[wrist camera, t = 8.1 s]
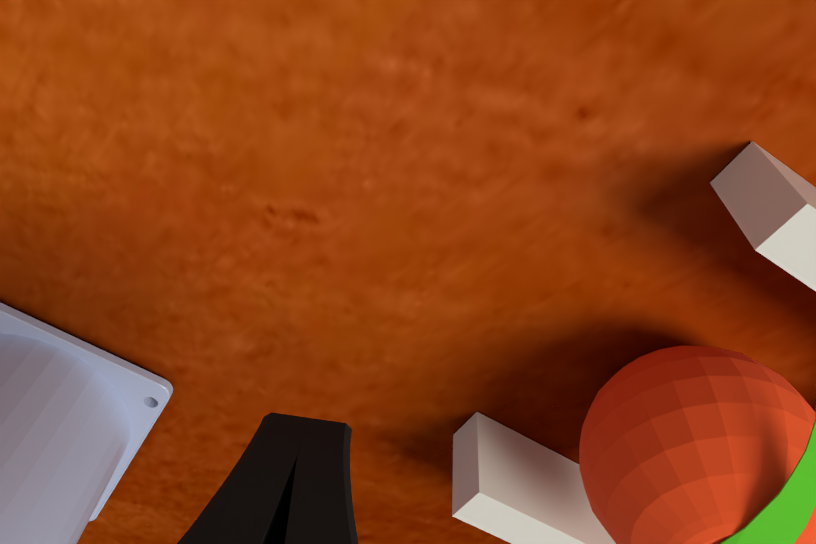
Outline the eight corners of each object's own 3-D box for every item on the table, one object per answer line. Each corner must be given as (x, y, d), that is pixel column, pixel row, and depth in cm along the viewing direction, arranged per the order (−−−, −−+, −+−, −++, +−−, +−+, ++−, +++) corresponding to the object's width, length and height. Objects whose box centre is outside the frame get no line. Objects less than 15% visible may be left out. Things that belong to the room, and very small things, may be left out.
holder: (682, 550, 28) (708, 634, 25) (453, 434, 25) (452, 516, 22) (1016, 335, 21) (1104, 418, 18) (752, 141, 18) (807, 203, 15)
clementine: (651, 242, 20) (731, 419, 14) (848, 316, 21) (998, 510, 15) (530, 417, 24) (552, 609, 19) (698, 472, 25) (769, 670, 20)
